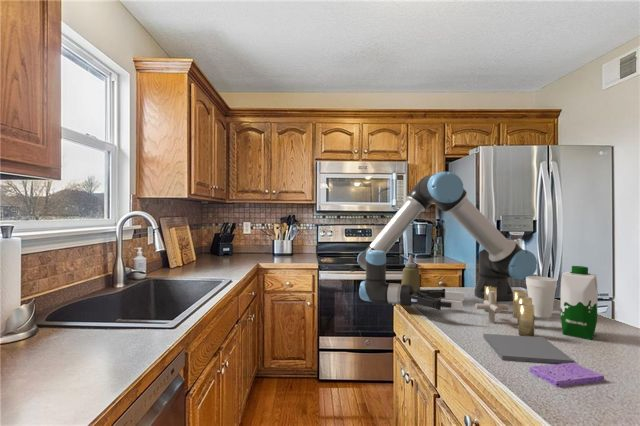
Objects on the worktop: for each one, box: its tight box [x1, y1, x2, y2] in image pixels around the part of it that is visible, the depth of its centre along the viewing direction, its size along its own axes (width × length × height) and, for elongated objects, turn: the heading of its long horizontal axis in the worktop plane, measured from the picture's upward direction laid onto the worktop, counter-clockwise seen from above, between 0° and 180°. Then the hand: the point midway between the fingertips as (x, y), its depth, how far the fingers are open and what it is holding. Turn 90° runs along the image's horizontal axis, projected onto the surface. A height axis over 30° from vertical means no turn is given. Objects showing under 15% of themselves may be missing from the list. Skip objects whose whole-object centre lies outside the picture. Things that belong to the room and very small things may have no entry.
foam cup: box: [525, 275, 558, 318], centre depth 125 cm, size 10×9×13 cm
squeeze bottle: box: [400, 254, 421, 291], centre depth 151 cm, size 8×8×18 cm
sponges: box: [529, 362, 605, 388], centre depth 77 cm, size 7×13×2 cm, turn 102°
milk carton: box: [560, 265, 599, 341], centre depth 105 cm, size 9×9×20 cm
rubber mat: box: [482, 333, 575, 365], centre depth 93 cm, size 16×16×1 cm
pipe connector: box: [474, 291, 509, 324], centre depth 116 cm, size 10×10×10 cm
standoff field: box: [483, 286, 535, 337], centre depth 116 cm, size 12×30×9 cm, turn 170°
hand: (463, 301), depth 120 cm, fingers open, 13 cm apart
